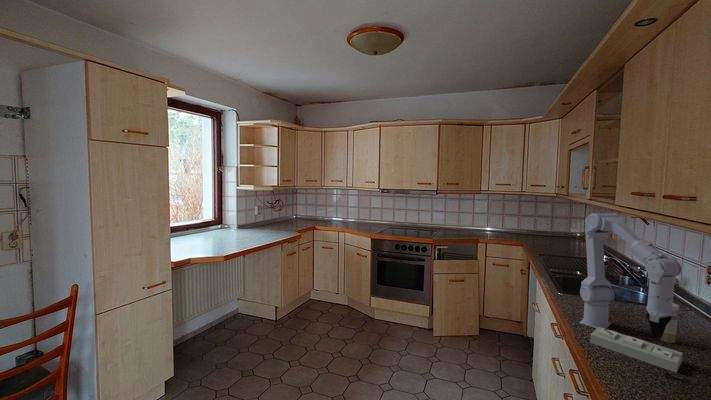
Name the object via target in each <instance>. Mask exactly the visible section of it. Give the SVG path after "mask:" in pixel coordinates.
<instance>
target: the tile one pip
mask: <svg viewBox="0 0 711 400" xmlns="http://www.w3.org/2000/svg"><path fill="white" fill-rule="evenodd" d="M644 341H645V340H643V339H639V338H638V337H635V336H634V337H633V336H631V335H627V337H626V338H625V339H624V343H626V344H629V345H632V346H635V347H638V348H641V349H642V348H643V347H644Z"/></svg>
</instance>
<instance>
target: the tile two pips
mask: <svg viewBox="0 0 711 400" xmlns="http://www.w3.org/2000/svg"><path fill="white" fill-rule="evenodd" d="M652 352H653V353H656V354H659V355H662V356H665V357H669V358H672V357H673V353H672V352H669V351H666V350H663V349H659V348H656V347H654V349H653V350H652Z"/></svg>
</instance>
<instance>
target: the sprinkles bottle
mask: <svg viewBox="0 0 711 400" xmlns="http://www.w3.org/2000/svg"><path fill="white" fill-rule="evenodd" d="M672 311H673V312H676V313H677V316H672V315H671V317H672V319H671V320H670V322H669V323H668V324H667V325H666V328H665V330H664V333H663V336H662V337H661V339H660V341H663V342H666V343H670V344H675V343H676V342H677V341H676V338H677V328H678V321H679V320H678V317H679V311H680V305H679V304H678V303H674V302H673V304H672Z"/></svg>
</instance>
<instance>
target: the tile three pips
mask: <svg viewBox="0 0 711 400" xmlns="http://www.w3.org/2000/svg"><path fill="white" fill-rule="evenodd" d="M618 333H619V332H618V331H615V330H610V329H607V328H606V329H605V328H602V329H601V330H600V331H599V335H601V336H604V337H607V338H610V339H613V340H615V339H616V338H617V337H618Z"/></svg>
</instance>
